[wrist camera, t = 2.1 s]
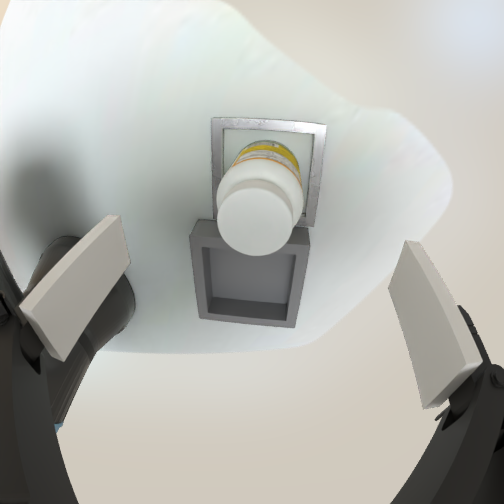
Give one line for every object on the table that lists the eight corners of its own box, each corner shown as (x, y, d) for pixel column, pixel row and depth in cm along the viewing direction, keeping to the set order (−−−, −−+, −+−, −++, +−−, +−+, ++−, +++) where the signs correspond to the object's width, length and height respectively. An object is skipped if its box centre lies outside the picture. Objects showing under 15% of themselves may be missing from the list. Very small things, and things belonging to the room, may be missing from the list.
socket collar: (215, 214, 25) (213, 218, 24) (213, 117, 20) (211, 118, 19) (313, 222, 24) (313, 226, 24) (325, 124, 19) (326, 125, 19)
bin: (205, 299, 31) (199, 318, 28) (198, 219, 25) (189, 235, 23) (294, 307, 30) (294, 328, 28) (307, 228, 25) (310, 245, 22)
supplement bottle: (264, 126, 20) (250, 151, 12) (312, 170, 22) (329, 224, 14) (221, 172, 23) (184, 224, 15) (268, 212, 24) (258, 281, 16)
